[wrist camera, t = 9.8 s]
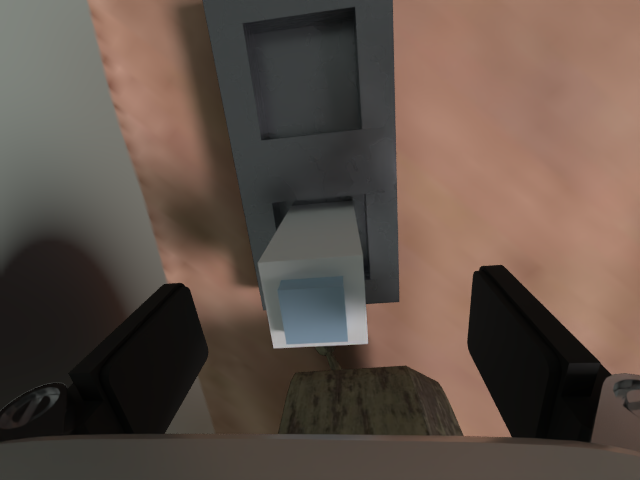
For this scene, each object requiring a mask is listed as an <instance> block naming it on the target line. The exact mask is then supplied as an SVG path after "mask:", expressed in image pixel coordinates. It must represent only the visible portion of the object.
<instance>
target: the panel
mask: <svg viewBox="0 0 640 480" xmlns="http://www.w3.org/2000/svg"><path fill="white" fill-rule="evenodd" d="M203 5H204V10H205V15H206V21H207V26H208V31H209V36H210V41H211V46H212V51H213V56H214V61H215V66H216V71H217V77H218V82H219V87H220V92H221V97H222V102H223V107H224V112H225V117H226V122H227V128H228V133H229V138H230V143H231V148H232V153H233V158H234V163H235V168H236V173H237V179H238V184H239V189H240V194H241V199H242V204H243V209H244V214H245V219H246V224H247V229H248V235H249V240H250V245H251V250H252V255H253V260H254V265H255V270H256V275H257V280H258V286H259V291H260V296H261V301H262V306H263V310H266V305H265V300H264V294H263V289H262V284H261V279H260V273H259V268H258V261H259V260H260V258H261V256H262V255H263V253H264V251H265V249H266V248H267V246H268V244H269V243H270V241H271V239H272V238H273V236H274V234H275V233H276V231H277V229H278V227H279V226H280V224H281V222H282V221H283V219H284V217H285V216H286V214H287V212H288V211H289V209H290V207H291V206H294V205H306V204H317V203H328V202H340V201H351V200H353V205H354V210H355V216H356V221H357V227H358V232H359V237H360V243H361V248H362V253H363V266H364V282H365V299H366V304H374V303H390V302H399V265H398V220H397V175H396V130H395V85H394V40H393V0H203Z"/></svg>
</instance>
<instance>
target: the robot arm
mask: <svg viewBox="0 0 640 480" xmlns="http://www.w3.org/2000/svg"><path fill="white" fill-rule="evenodd" d="M467 343H468V349H469V352H470V354H471V356H472V358H473V360H474V362H475V364H476V366H477V368H478V370H479V372H480V374H481V376H482V378H483V380H484V382H485V384H486V386H487V388H488V390H489V392H490V394H491V396H492V398H493V400H494V402H495V404H496V406H497V408H498V410H499V412H500V414H501V416H502V418H503V420H504V422H505V424H506V426H507V428H508V430H509V432H510V434H511V436H512V437H479V436H426V435H336V434H165V432H166V430H167V428H168V427H169V425H170V423H171V421H172V419H173V418H174V416H175V414H176V412H177V411H178V409H179V407H180V406H181V404H182V402H183V400H184V398H185V397H186V395H187V393H188V391H189V390H190V388H191V386H192V384H193V383H194V381H195V379H196V377H197V376H198V374H199V372H200V370H201V369H202V367H203V365H204V363H205V362H206V360H207V357H208V347H207V344H206V340H205V337H204V334H203V331H202V327H201V324H200V321H199V318H198V314H197V311H196V308H195V305H194V301H193V298H192V295H191V292H190V289H189V288H188V287H185V285H184V284H182V283H172V284H164V285H162V286H161V287H160V288H159V289H158V290H157V291H156V292H155V293H154V294H153V295H152V296H151V297H149V298H148V299H147V300H146V301H145V302H144V303H143V304H142V305H141V306H140V307H139V308H138V309H137V310H135V311H134V312H133V313H132V314H131V315H130V316H129V317H128V318H127V319H126V320H125V321H124V322H123V323H122V324H121V325H119V326H118V328H116V329H115V330H114V331H113V332H112V333H111V334H110V335H109V336H108V337H107V338H106V339H105V340H103V341H102V342H101V343H100V344H99V345H98V346H97V347H96V348H95V349H94V350H93V351H92V352H91V353H90V354H89V355H87V356H86V357H85V358H84V359H83V360H82V361H81V362H80V363H79V364H78V365H77V366H76V367H75V368H74V369H73V370H72V371H70V372H69V375H70V377H71V379H72V381H73V384H72V385H71V386H70V387H69V388H67V386H66V385H64V384H63V383H50V384H45V385H42V386H40V387H37V388H34V389H32V390H30V391H28V392H26V393H24V394H22V395H21V396H19V397H18V398H16V399H14V400H13V401H11V402H10V403H9V404H8V405H6V406H5V407H4V408H3V409H2V410H1V411H0V480H640V375H635V374H627V373H623V374H614V375H611V374H610V373H609V372H608V371H607V370H606V369H605V368H604V367H603V366H602V365H601V364H600V362H599V361H598V360H597V359H596V358H595V357H594V356H593V355H592V354H591V353H590V352H589V351H588V350H587V349H586V348H585V347H584V346H583V345H582V344H581V343H580V342H579V341H578V340H577V339H576V338H575V337H574V336H573V335H572V334H571V333H570V332H569V331H568V330H567V329H566V328H565V327H564V326H563V325H562V324H561V323H560V322H559V321H558V320H557V319H556V318H555V317H554V316H553V315H552V314H551V313H550V312H549V311H548V310H547V309H546V308H545V307H544V306H543V305H542V304H541V303H540V302H539V301H538V300H537V299H536V298H535V297H534V296H533V295H532V294H531V293H530V292H529V291H528V290H527V289H526V288H525V287H524V286H523V285H522V284H521V283H520V282H519V281H518V280H517V279H516V278H515V277H514V276H513V275H512V274H511V273H510V272H509V271H508V270H507V269H506V268H505V267H504V266H502V265H493V266H481V267H480V269H479V271H475V272H474V274H473V282H472V294H471V305H470V317H469V329H468V341H467Z"/></svg>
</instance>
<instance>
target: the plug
mask: <svg viewBox="0 0 640 480" xmlns="http://www.w3.org/2000/svg"><path fill="white" fill-rule="evenodd" d="M258 268H259V273H260V279H261V284H262V289H263V294H264V300H265V305H266V310H267V316H268V321H269V326H270V332H271V337H272V342H273V348H292V347H313V346H335V345H356V344H368V332H367V315H366V299H365V282H364V266H363V253H362V248H361V243H360V237H359V232H358V227H357V221H356V216H355V210H354V205H353V200H351V201H340V202H328V203H317V204H306V205H294V206H291V207H290V209H289V211H288V212H287V214H286V216H285V217H284V219H283V221H282V222H281V224H280V226H279V227H278V229H277V231H276V233H275V234H274V236H273V238H272V239H271V241H270V243H269V244H268V246H267V248H266V249H265V251H264V253H263V255H262V256H261V258H260V260H259V261H258Z"/></svg>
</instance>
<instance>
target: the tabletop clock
mask: <svg viewBox="0 0 640 480" xmlns="http://www.w3.org/2000/svg"><path fill="white" fill-rule="evenodd" d="M335 346H336V345H335ZM335 346H315V348H316V350H317V351H318V353H319V354H321V355H325V356H327V359H328V362H329V365H330V368H331V370H329V371H313V372H297V373H295V374H294V376H293V378H292V380H291V383H290V387H289V390H288V394H287V397H286V401H285V405H284V410H283V414H282V419H281V423H280V428H279V432H278V434H336V435H426V436H463V433H462V431H461V429H460V426H459V424H458V421H457V419H456V417H455V414H454V412H453V410H452V407H451V405H450V403H449V401H448V399H447V397H446V395H445V393H444V391H443V389H442V387H441V386H440V384H439V383H438V382H437V381H435V380H433V379H431V378H429V377H427V376H425V375H423V374H421V373H419V372H417V371H415V370H413V369H411V368H409V367H407V366H394V367H378V368H362V369H345V370H342V368H341V366H340V365H339V363H338V361H337V359H336V358H335V356H334V354H333V353H332V352H333V351H334V350H335Z"/></svg>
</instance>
